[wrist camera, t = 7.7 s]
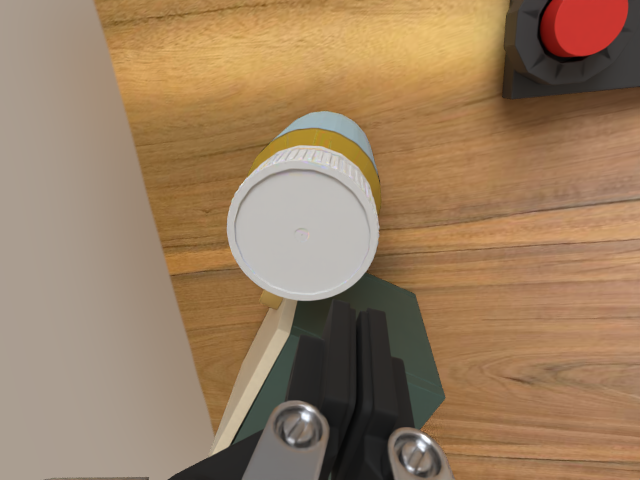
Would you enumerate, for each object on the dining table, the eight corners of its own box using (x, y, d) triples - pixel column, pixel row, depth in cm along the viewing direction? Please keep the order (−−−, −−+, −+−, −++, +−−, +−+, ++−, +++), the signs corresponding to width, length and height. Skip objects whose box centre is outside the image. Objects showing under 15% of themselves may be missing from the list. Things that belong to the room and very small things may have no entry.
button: (536, 60, 23) (550, 59, 21) (544, -11, 21) (559, -18, 20) (601, 53, 22) (620, 52, 21) (613, -20, 21) (635, -28, 19)
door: (229, 356, 37) (182, 466, 27) (285, 238, 32) (253, 318, 21) (250, 365, 37) (212, 477, 27) (309, 249, 32) (290, 334, 21)
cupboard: (253, 363, 38) (215, 478, 27) (310, 247, 32) (290, 334, 21) (345, 400, 39) (343, 524, 28) (415, 293, 33) (446, 398, 23)
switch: (490, 99, 26) (509, 102, 23) (500, -40, 23) (523, -58, 20) (708, 77, 25) (761, 78, 22) (750, -74, 22) (819, -99, 19)
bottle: (390, 161, 29) (426, 242, 15) (322, 219, 31) (300, 336, 17) (327, 88, 27) (302, 105, 13) (260, 155, 29) (180, 229, 16)
